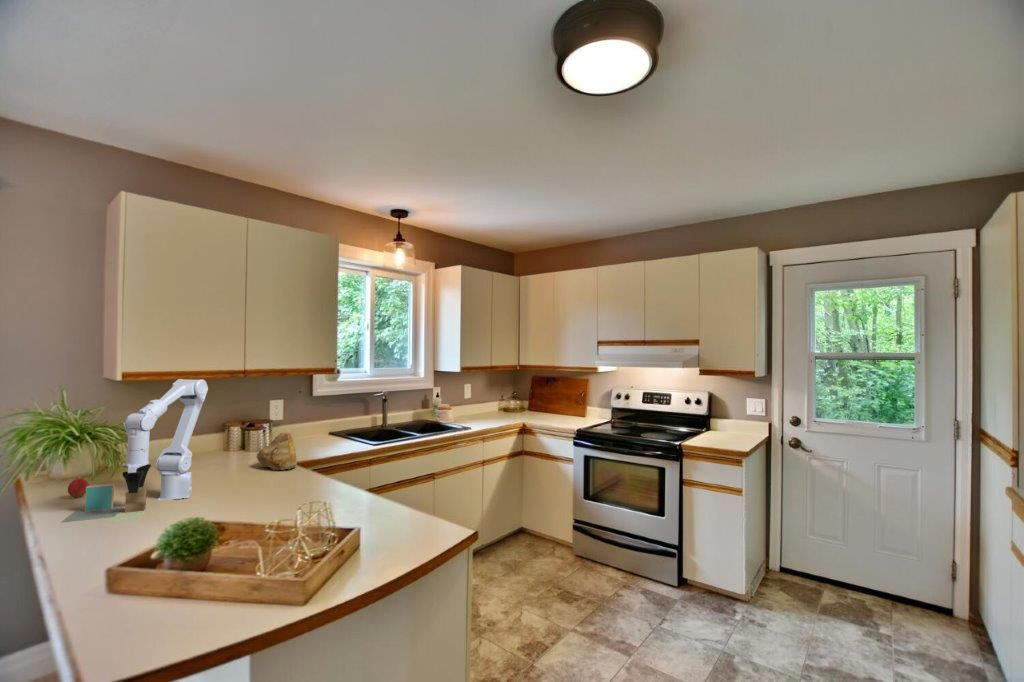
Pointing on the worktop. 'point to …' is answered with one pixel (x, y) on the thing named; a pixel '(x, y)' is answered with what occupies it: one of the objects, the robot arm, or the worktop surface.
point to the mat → (93, 514)
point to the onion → (78, 487)
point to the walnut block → (135, 501)
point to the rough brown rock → (279, 453)
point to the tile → (99, 497)
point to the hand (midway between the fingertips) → (136, 489)
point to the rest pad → (126, 516)
